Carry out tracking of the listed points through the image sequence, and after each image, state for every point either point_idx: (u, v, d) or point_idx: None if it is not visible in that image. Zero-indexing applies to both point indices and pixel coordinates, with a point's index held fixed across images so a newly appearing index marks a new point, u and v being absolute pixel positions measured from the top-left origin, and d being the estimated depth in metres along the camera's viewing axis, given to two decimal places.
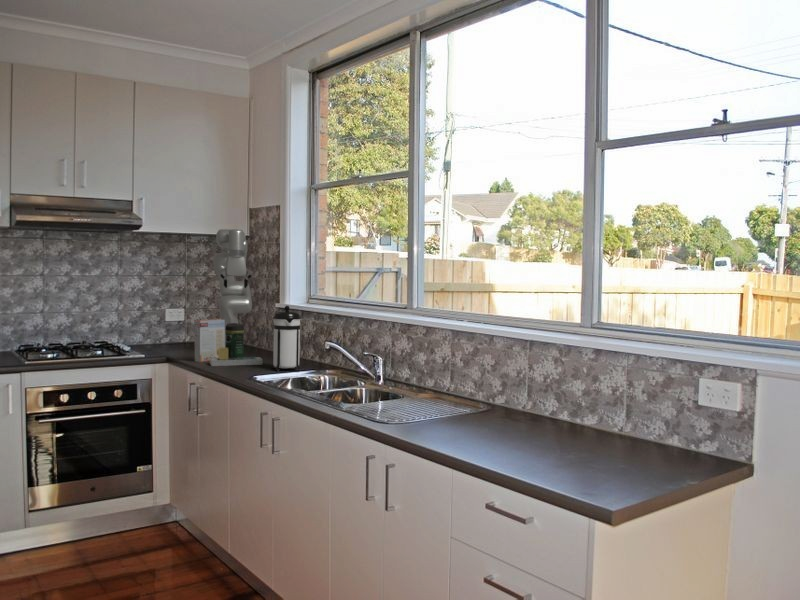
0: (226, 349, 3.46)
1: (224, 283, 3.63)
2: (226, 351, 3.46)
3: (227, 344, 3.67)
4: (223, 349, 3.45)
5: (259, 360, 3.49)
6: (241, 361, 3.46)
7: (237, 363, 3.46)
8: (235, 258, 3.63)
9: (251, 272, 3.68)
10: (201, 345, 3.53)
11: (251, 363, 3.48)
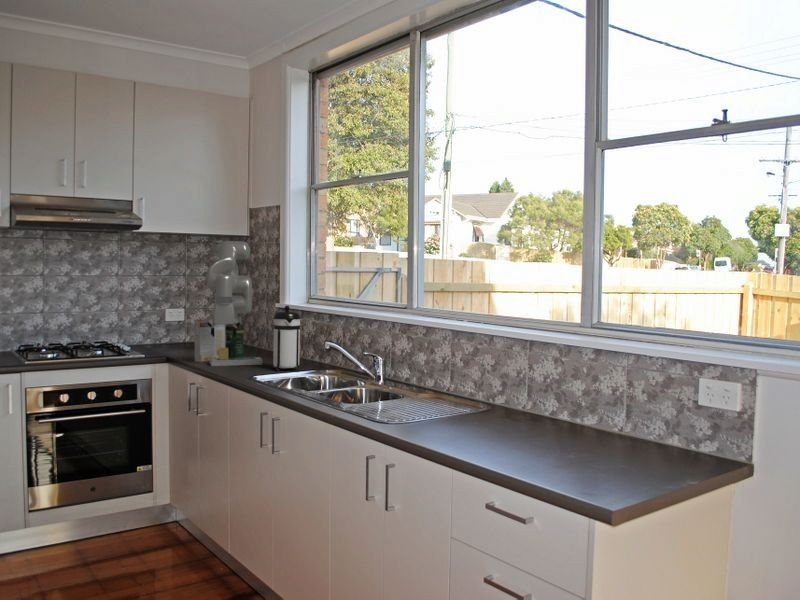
0: (226, 349, 3.46)
1: (211, 332, 3.43)
2: (226, 351, 3.46)
3: (227, 344, 3.67)
4: (223, 349, 3.45)
5: (259, 360, 3.49)
6: (241, 361, 3.46)
7: (237, 363, 3.46)
8: (223, 306, 3.43)
9: (240, 320, 3.48)
10: (201, 345, 3.53)
11: (251, 363, 3.48)
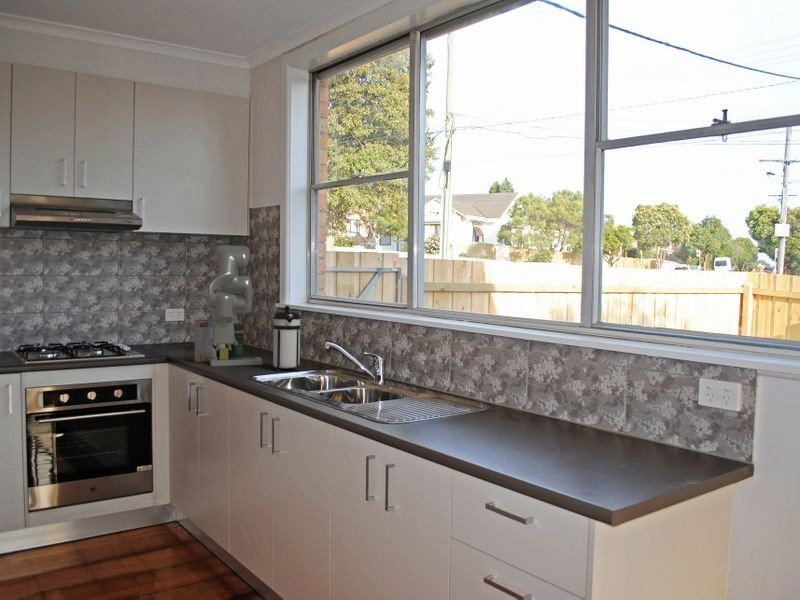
0: (226, 349, 3.46)
1: (216, 354, 3.45)
2: (226, 351, 3.46)
3: (227, 344, 3.67)
4: (223, 349, 3.45)
5: (259, 360, 3.49)
6: (241, 361, 3.46)
7: (237, 363, 3.46)
8: (222, 326, 3.44)
9: (236, 343, 3.48)
10: (201, 345, 3.53)
11: (251, 363, 3.48)
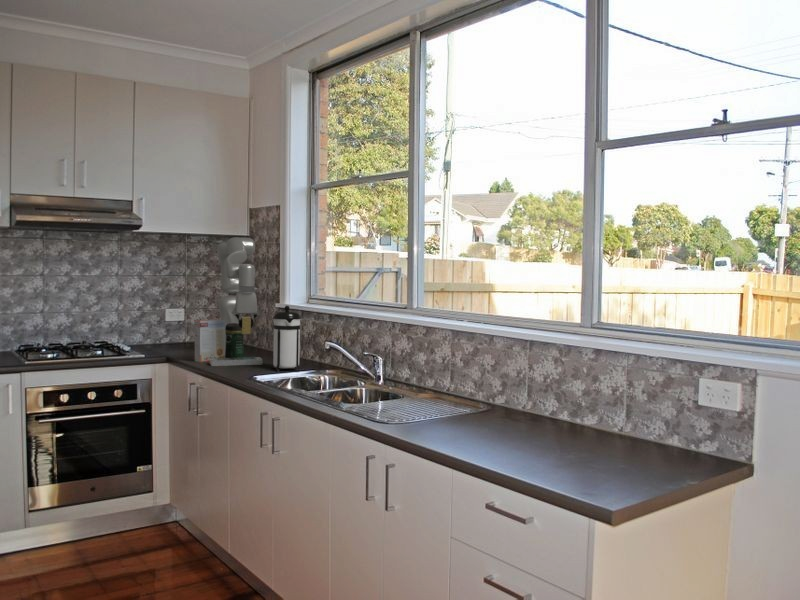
0: (249, 318, 3.48)
1: (239, 323, 3.48)
2: (249, 320, 3.49)
3: (227, 344, 3.67)
4: (246, 318, 3.48)
5: (259, 360, 3.49)
6: (241, 361, 3.46)
7: (237, 363, 3.46)
8: (245, 295, 3.47)
9: (258, 312, 3.51)
10: (201, 345, 3.53)
11: (251, 363, 3.48)
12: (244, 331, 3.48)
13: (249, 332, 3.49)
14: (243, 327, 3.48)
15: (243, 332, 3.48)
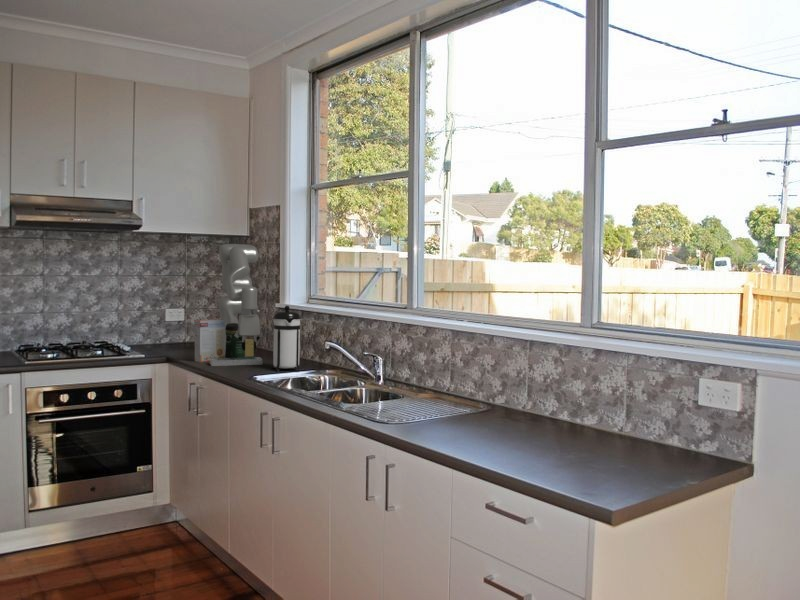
0: (251, 341, 3.49)
1: (242, 346, 3.49)
2: (251, 343, 3.49)
3: (227, 344, 3.67)
4: (249, 341, 3.49)
5: (259, 360, 3.49)
6: (241, 361, 3.46)
7: (237, 363, 3.46)
8: (248, 318, 3.48)
9: (261, 335, 3.52)
10: (201, 345, 3.53)
11: (251, 363, 3.48)
12: (247, 353, 3.49)
13: (252, 354, 3.50)
14: (246, 349, 3.49)
15: (246, 354, 3.49)
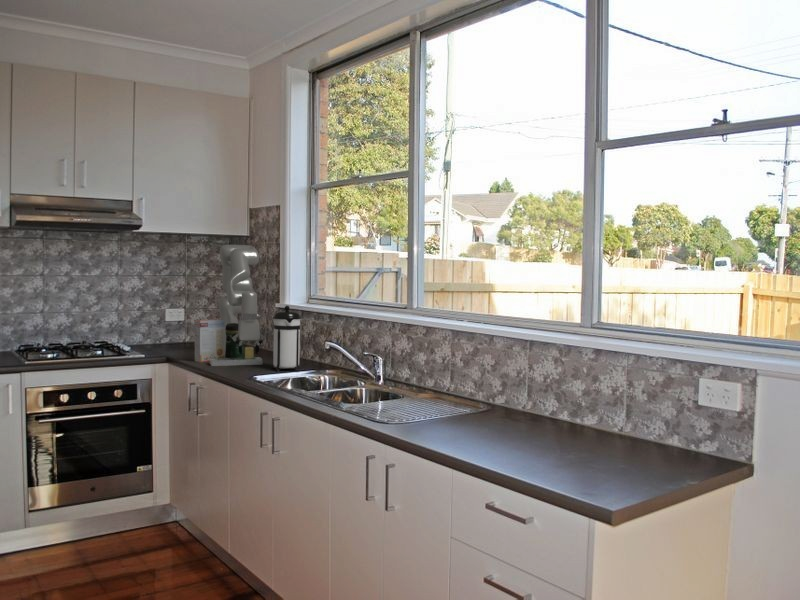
0: (251, 348, 3.50)
1: (239, 349, 3.49)
2: (251, 350, 3.50)
3: (227, 344, 3.67)
4: (248, 348, 3.49)
5: (259, 360, 3.49)
6: (241, 361, 3.46)
7: (237, 363, 3.46)
8: (248, 322, 3.48)
9: (263, 338, 3.53)
10: (201, 345, 3.53)
11: (251, 363, 3.48)
12: None
13: None
14: (246, 357, 3.49)
15: None
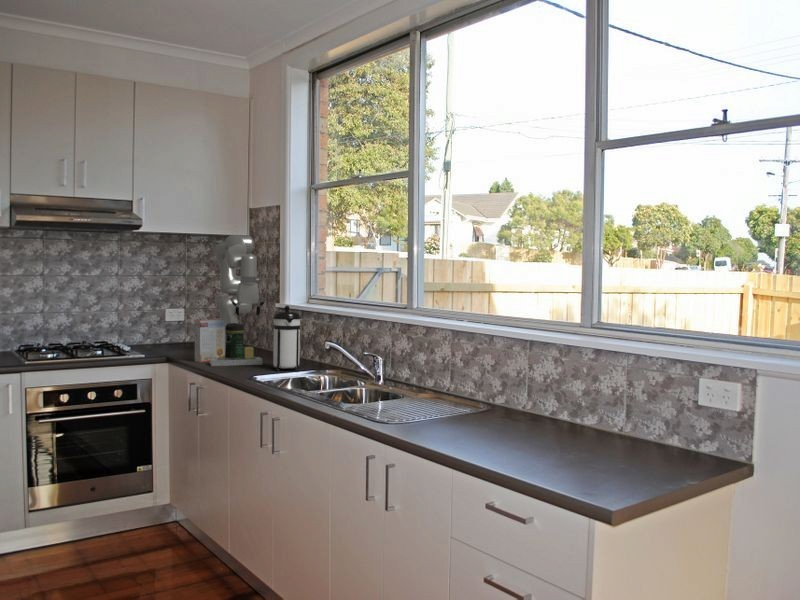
0: (251, 348, 3.50)
1: (236, 311, 3.52)
2: (251, 350, 3.50)
3: (227, 344, 3.67)
4: (248, 348, 3.49)
5: (259, 360, 3.49)
6: (241, 361, 3.46)
7: (237, 363, 3.46)
8: (247, 285, 3.51)
9: (264, 299, 3.56)
10: (201, 345, 3.53)
11: (251, 363, 3.48)
12: None
13: None
14: (246, 357, 3.49)
15: None
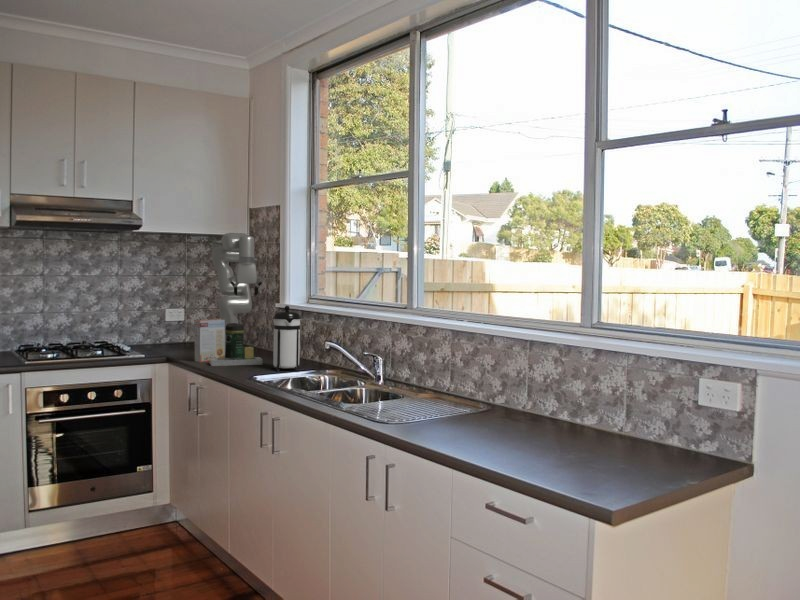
0: (251, 348, 3.50)
1: (234, 290, 3.58)
2: (251, 350, 3.50)
3: (227, 344, 3.67)
4: (248, 348, 3.49)
5: (259, 360, 3.49)
6: (241, 361, 3.46)
7: (237, 363, 3.46)
8: (245, 265, 3.57)
9: (262, 279, 3.62)
10: (201, 345, 3.53)
11: (251, 363, 3.48)
12: None
13: None
14: (246, 357, 3.49)
15: None
